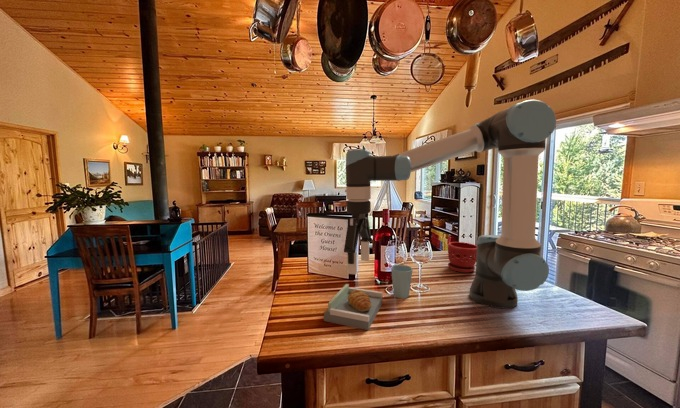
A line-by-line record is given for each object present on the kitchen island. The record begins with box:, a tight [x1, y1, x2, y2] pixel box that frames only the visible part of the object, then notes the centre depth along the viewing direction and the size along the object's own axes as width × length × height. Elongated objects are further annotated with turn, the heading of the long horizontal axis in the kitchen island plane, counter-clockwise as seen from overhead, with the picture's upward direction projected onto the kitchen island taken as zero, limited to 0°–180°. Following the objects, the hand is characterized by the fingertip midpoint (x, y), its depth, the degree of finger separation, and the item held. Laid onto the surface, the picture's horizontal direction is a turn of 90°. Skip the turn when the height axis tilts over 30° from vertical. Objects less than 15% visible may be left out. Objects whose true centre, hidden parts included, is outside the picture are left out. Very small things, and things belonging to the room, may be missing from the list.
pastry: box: [348, 290, 371, 312], centre depth 89 cm, size 9×7×4 cm
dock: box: [323, 283, 384, 331], centre depth 91 cm, size 14×18×6 cm
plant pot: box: [447, 241, 477, 273], centre depth 131 cm, size 13×13×12 cm
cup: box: [390, 264, 413, 299], centre depth 103 cm, size 8×8×10 cm
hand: (359, 266), depth 89 cm, fingers open, 13 cm apart
